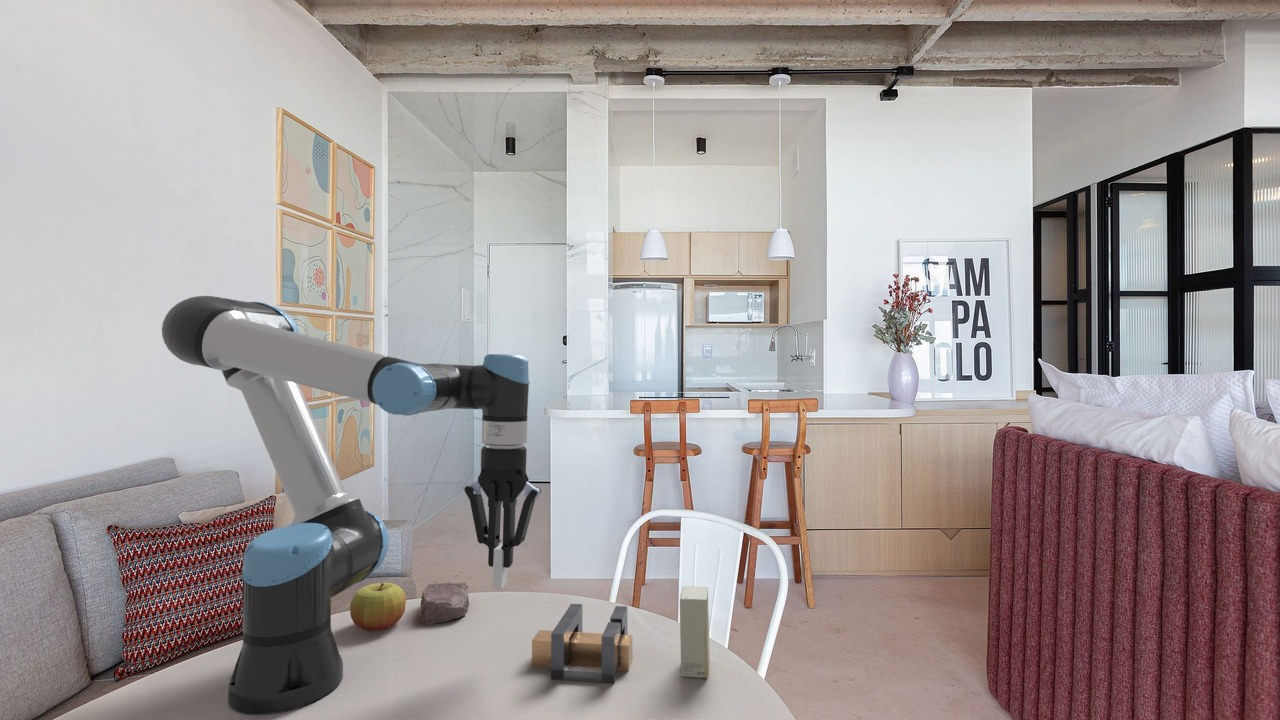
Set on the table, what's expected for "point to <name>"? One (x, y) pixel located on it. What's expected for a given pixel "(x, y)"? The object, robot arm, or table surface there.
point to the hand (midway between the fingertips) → (499, 585)
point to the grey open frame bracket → (609, 647)
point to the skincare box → (694, 632)
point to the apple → (377, 606)
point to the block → (581, 650)
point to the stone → (444, 602)
